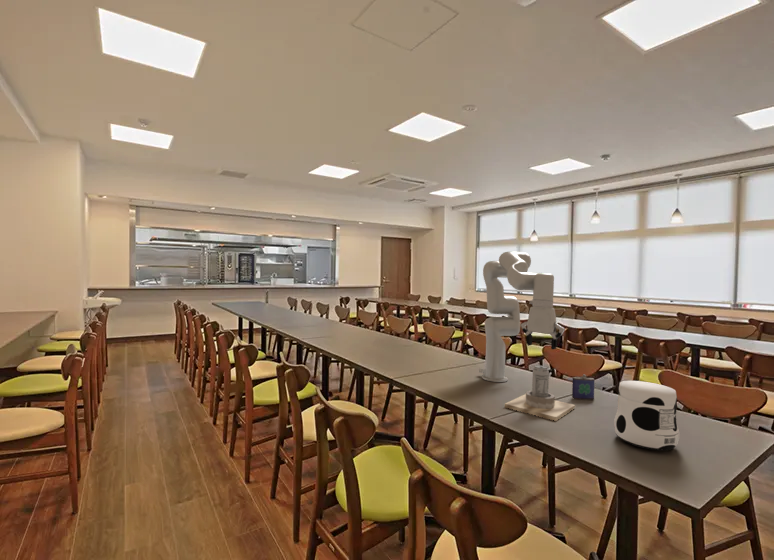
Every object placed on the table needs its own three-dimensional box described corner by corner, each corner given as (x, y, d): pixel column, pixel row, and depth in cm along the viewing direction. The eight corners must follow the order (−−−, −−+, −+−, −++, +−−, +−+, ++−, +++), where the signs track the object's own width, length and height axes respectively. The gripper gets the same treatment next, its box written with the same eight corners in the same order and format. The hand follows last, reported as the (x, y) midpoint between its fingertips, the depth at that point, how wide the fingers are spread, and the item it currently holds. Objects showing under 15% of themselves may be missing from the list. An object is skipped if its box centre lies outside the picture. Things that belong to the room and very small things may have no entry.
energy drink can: (546, 402, 158) (547, 365, 158) (548, 407, 153) (550, 369, 153) (531, 401, 160) (532, 364, 160) (532, 405, 154) (533, 367, 154)
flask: (592, 398, 172) (593, 373, 171) (595, 400, 169) (596, 375, 168) (570, 397, 172) (571, 373, 172) (573, 399, 169) (574, 374, 169)
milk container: (618, 428, 137) (620, 376, 137) (680, 442, 126) (682, 386, 126) (608, 443, 124) (610, 387, 124) (676, 461, 113) (679, 399, 113)
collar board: (504, 407, 156) (505, 393, 156) (526, 397, 170) (526, 384, 170) (556, 421, 142) (556, 406, 142) (574, 408, 157) (575, 395, 157)
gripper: (517, 303, 160) (516, 344, 160) (561, 306, 148) (560, 351, 148) (525, 302, 165) (524, 342, 165) (568, 305, 153) (567, 349, 153)
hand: (541, 347), depth 157 cm, fingers open, 9 cm apart
